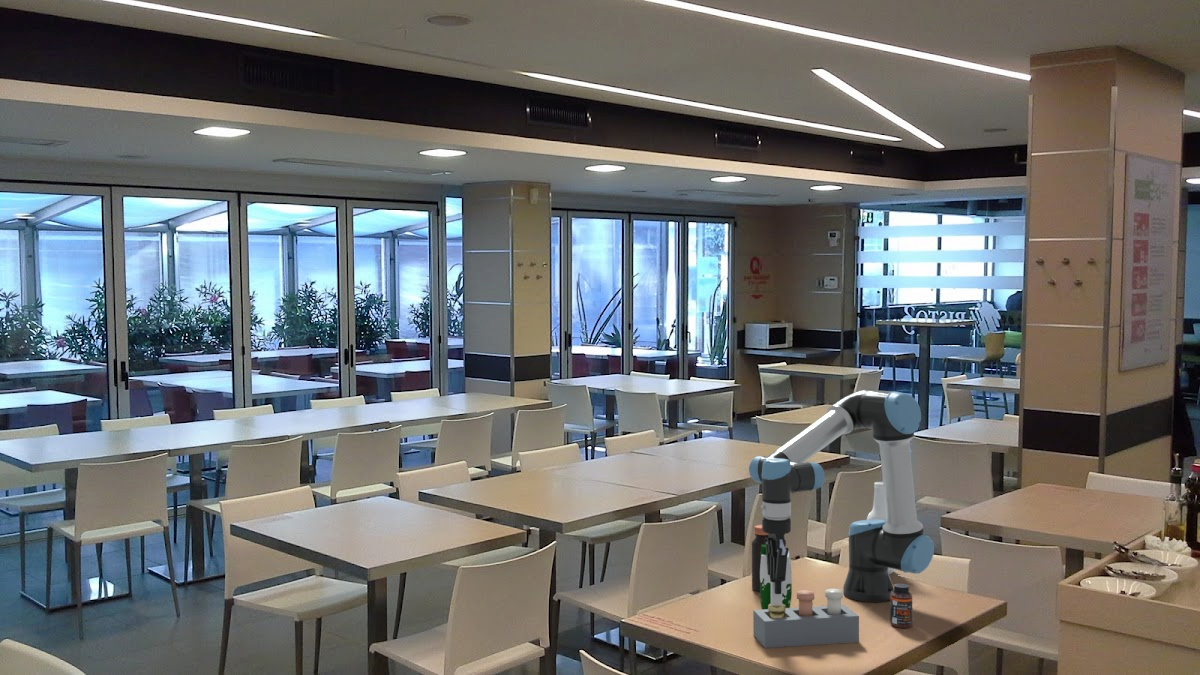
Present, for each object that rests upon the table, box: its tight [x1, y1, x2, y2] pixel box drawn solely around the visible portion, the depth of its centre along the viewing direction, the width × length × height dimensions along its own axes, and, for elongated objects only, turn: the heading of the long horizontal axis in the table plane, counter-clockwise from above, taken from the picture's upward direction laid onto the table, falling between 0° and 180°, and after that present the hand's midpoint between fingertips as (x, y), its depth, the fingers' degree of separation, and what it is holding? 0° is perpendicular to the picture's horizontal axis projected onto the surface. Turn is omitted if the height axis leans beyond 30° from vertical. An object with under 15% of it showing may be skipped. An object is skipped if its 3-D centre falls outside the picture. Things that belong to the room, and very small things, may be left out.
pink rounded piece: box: [796, 589, 815, 617], centre depth 270 cm, size 5×5×7 cm
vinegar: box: [751, 524, 768, 593], centre depth 317 cm, size 7×7×20 cm
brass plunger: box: [768, 604, 786, 618], centre depth 269 cm, size 5×5×7 cm
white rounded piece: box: [824, 588, 844, 615], centre depth 271 cm, size 5×5×7 cm
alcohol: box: [866, 481, 895, 575], centre depth 336 cm, size 9×9×30 cm
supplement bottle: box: [889, 583, 913, 629], centre depth 280 cm, size 6×6×11 cm
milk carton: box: [759, 544, 793, 610], centre depth 291 cm, size 9×9×20 cm
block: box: [752, 604, 860, 649], centre depth 270 cm, size 26×10×7 cm, turn 98°
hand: (776, 604), depth 269 cm, fingers closed
